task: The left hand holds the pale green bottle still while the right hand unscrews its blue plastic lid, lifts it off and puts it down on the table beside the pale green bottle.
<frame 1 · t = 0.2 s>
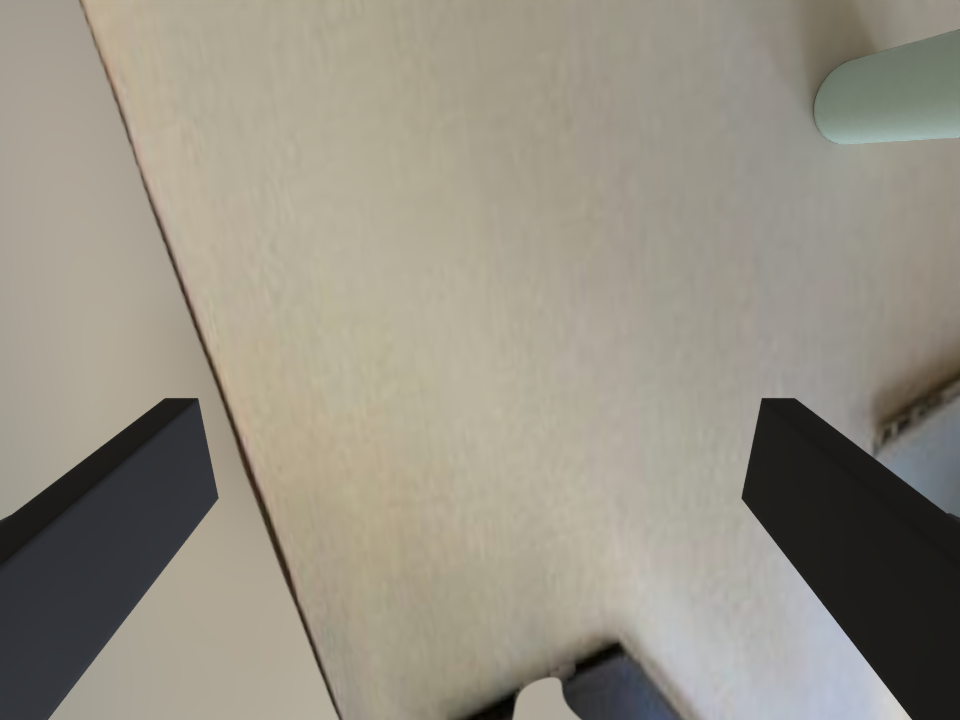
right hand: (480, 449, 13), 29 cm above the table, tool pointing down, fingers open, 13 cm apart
pale green bottle: (853, 102, 37), on the table
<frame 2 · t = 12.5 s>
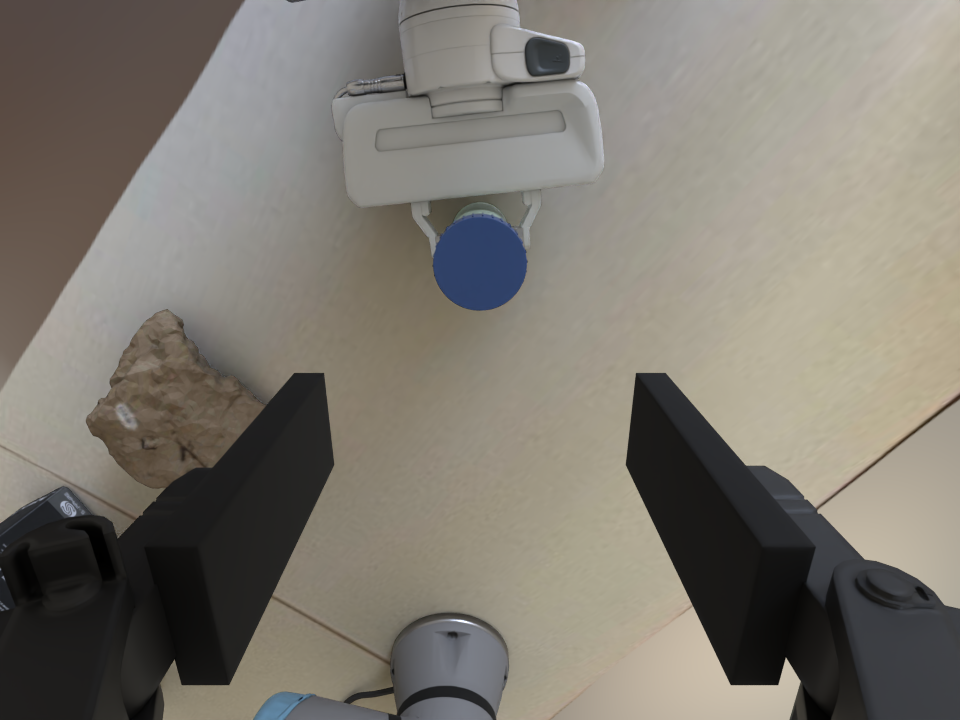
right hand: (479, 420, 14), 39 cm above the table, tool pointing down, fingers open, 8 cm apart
left hand: (481, 252, 45), fingers closed on pale green bottle, 5 cm apart
pale green bottle: (479, 231, 51), on the table, touching left hand
stone: (214, 414, 58), on the table
lid: (479, 264, 35), point 17 cm above the table, screwed on, not yet turned
graphics card box: (96, 542, 64), on the table
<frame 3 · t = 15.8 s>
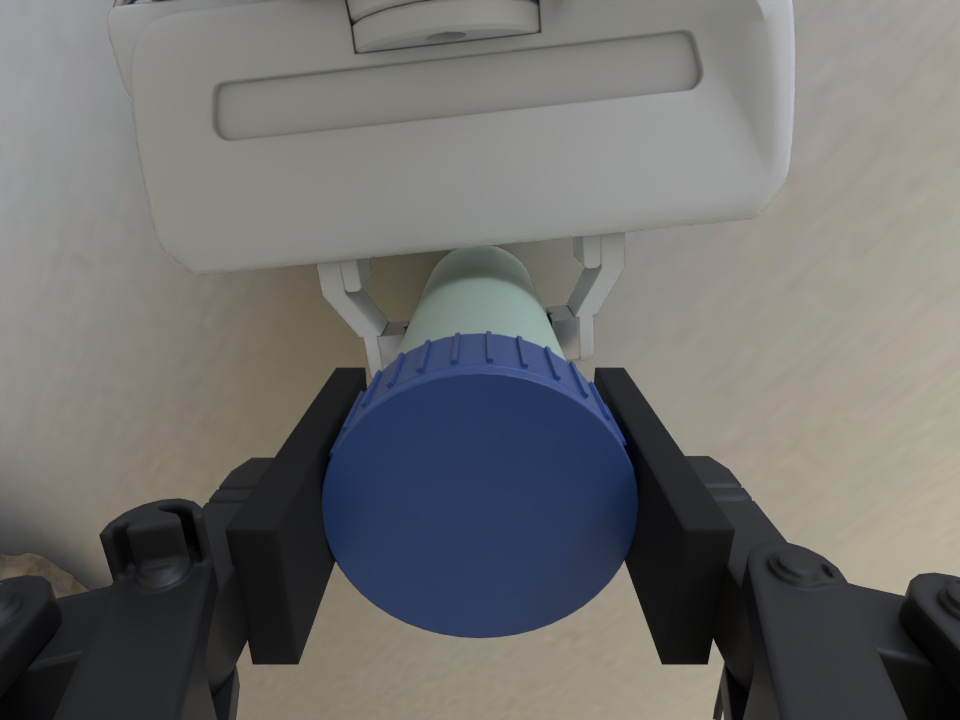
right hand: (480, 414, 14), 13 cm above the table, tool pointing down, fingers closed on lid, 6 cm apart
left hand: (483, 364, 20), fingers closed on pale green bottle, 5 cm apart
pale green bottle: (479, 298, 26), on the table, touching left hand
stone: (18, 601, 33), on the table
lid: (479, 508, 11), point 17 cm above the table, screwed on, not yet turned, touching right hand
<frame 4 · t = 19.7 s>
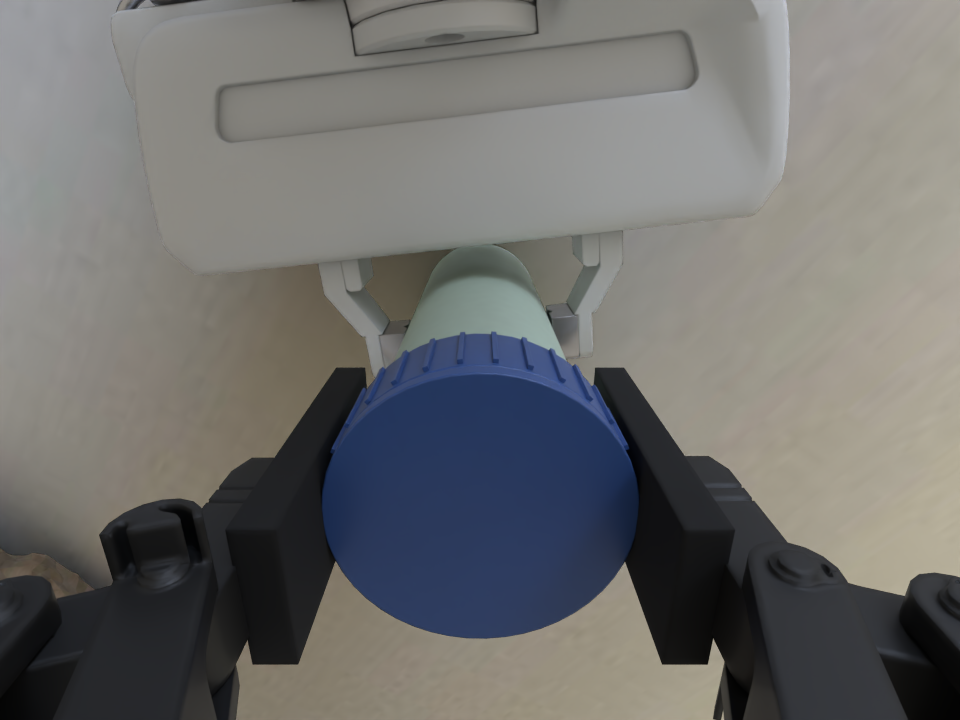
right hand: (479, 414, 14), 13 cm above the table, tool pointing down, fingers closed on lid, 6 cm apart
left hand: (483, 362, 21), fingers closed on pale green bottle, 5 cm apart
pale green bottle: (480, 297, 27), on the table, touching left hand
stone: (24, 601, 33), on the table
lid: (480, 508, 11), point 17 cm above the table, turned 130° so far, risen 0.2 cm, still on its thread, touching right hand
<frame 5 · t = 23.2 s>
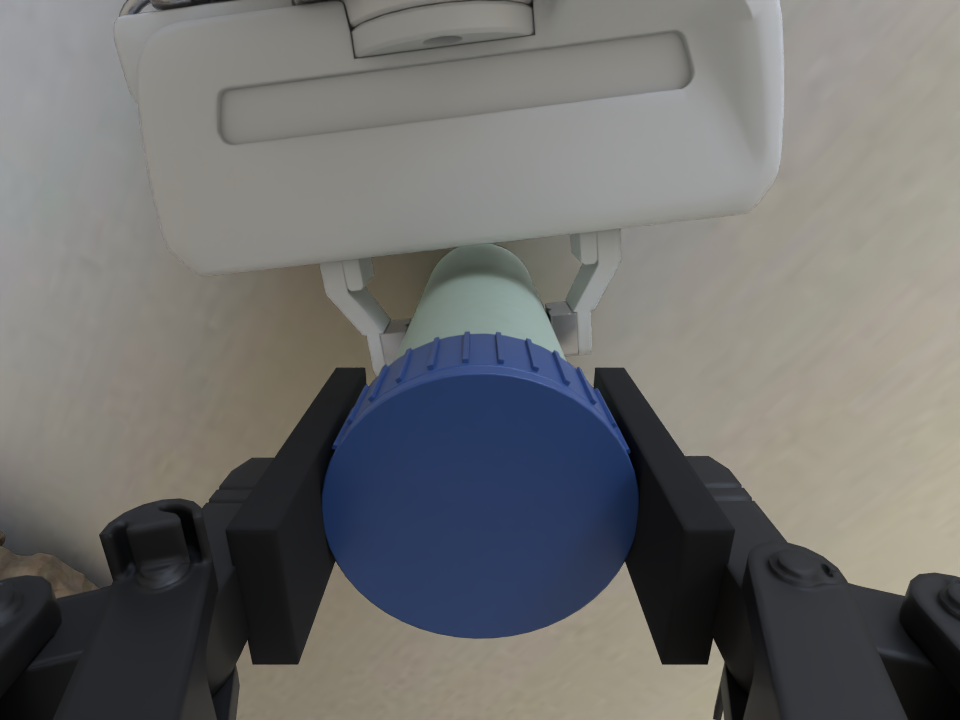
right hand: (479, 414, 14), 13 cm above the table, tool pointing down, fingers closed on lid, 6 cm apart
left hand: (484, 360, 21), fingers closed on pale green bottle, 5 cm apart
pale green bottle: (480, 296, 27), on the table, touching left hand
stone: (30, 601, 34), on the table
lid: (480, 508, 11), point 17 cm above the table, turned 260° so far, risen 0.4 cm, still on its thread, touching right hand
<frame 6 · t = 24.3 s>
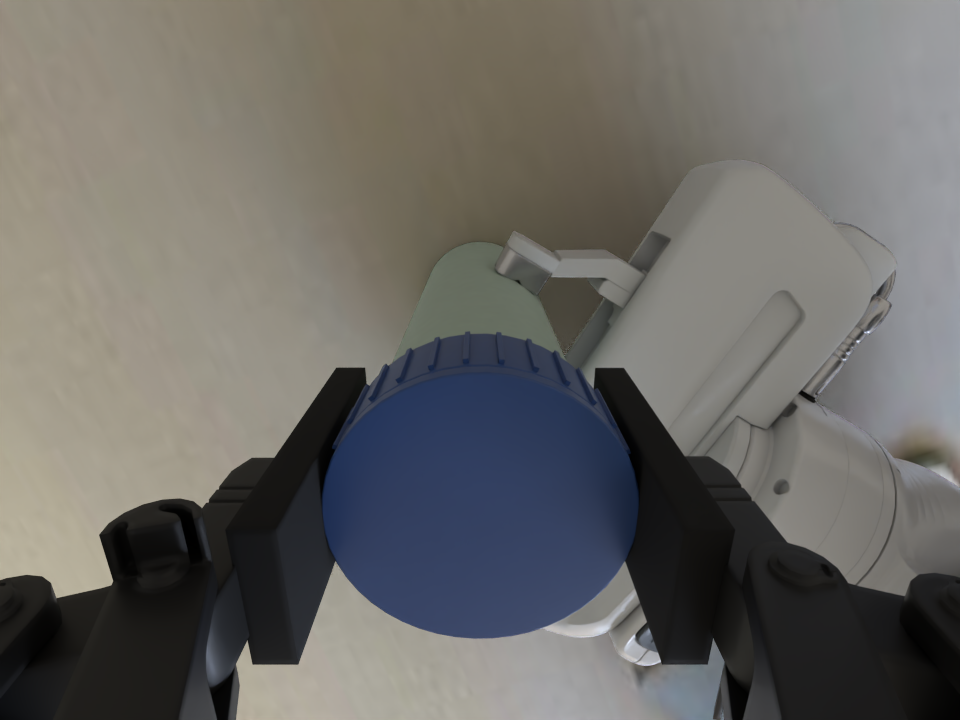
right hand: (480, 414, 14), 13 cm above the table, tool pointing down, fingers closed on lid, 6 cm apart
pale green bottle: (479, 295, 27), on the table, touching left hand
lid: (480, 508, 11), point 18 cm above the table, off its thread, touching right hand
when the right hand's fingers open (0 cm above the table, at t = 32.9 s): lid drops 2 cm, point 2 cm above the table.
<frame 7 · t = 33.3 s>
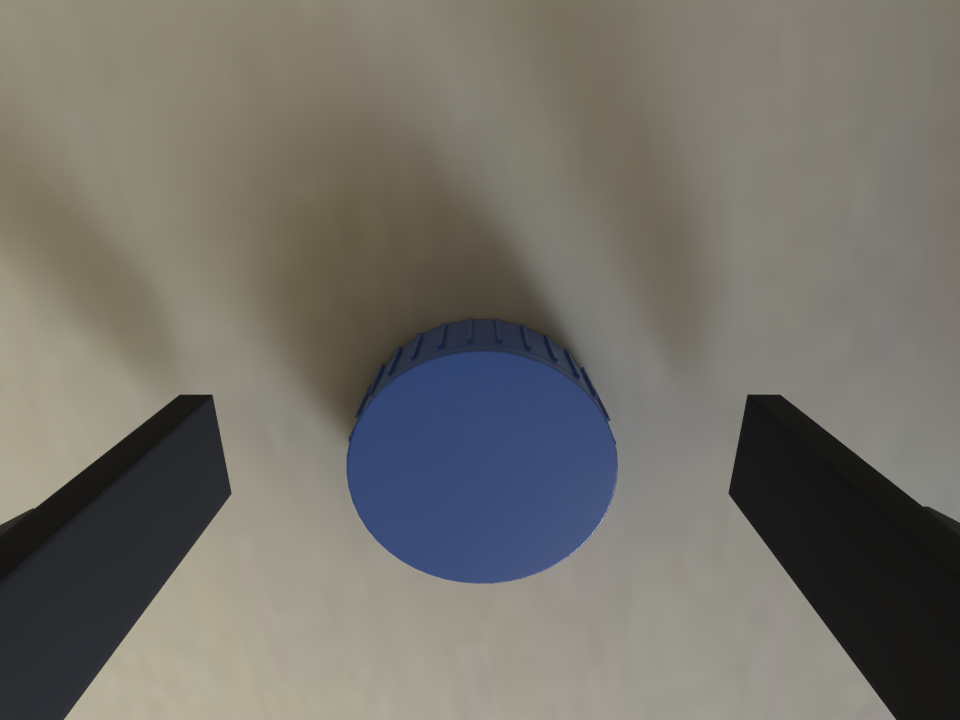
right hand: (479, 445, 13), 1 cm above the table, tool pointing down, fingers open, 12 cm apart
lid: (482, 469, 12), point 2 cm above the table, off its thread
when the left hand's fingers open (7 cm above the table, at t = 34.1 s): pale green bottle stays where it is, on the table.
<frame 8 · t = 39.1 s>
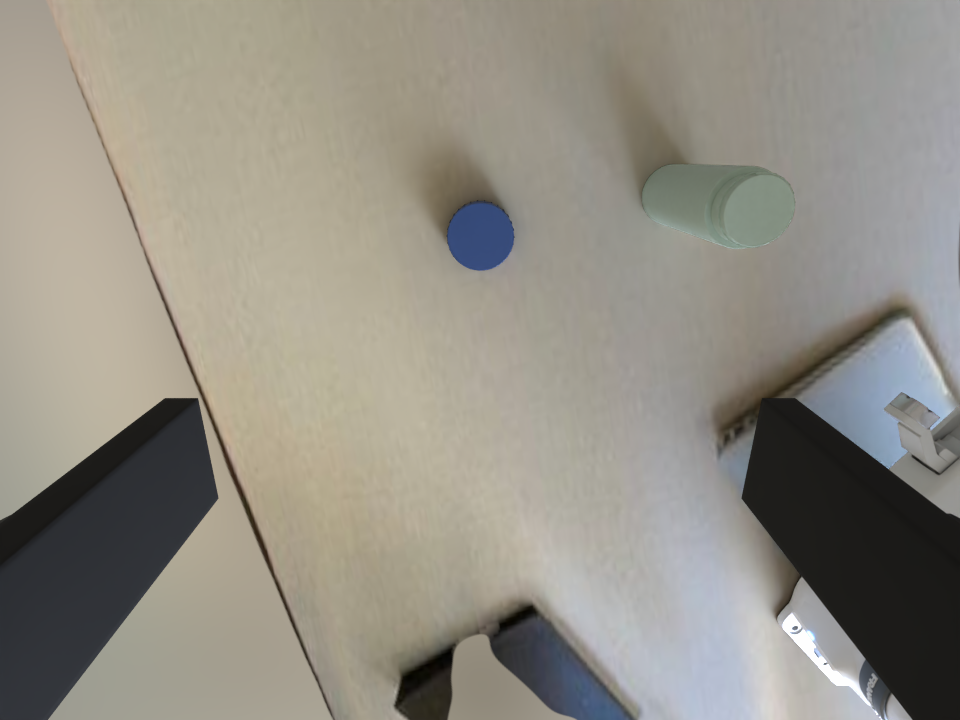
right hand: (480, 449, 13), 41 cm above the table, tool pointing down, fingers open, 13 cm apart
pale green bottle: (670, 194, 50), on the table
lid: (480, 236, 49), point 2 cm above the table, off its thread
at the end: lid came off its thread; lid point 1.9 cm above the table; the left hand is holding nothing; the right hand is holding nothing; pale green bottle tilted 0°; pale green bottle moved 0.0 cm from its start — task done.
